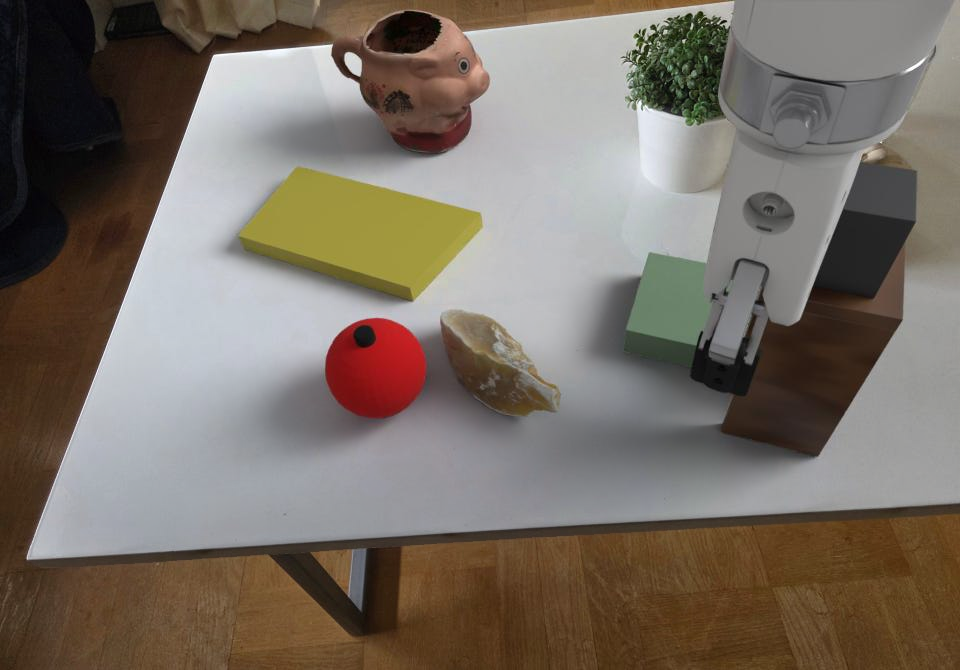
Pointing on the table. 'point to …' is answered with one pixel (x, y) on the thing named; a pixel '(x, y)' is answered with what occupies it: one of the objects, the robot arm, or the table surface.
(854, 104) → the robot arm
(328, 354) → the ornament
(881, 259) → the block
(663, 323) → the sage green square slab
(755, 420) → the tall brown wooden block
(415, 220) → the flat olive board
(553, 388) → the stone
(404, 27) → the face mug
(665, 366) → the table surface
